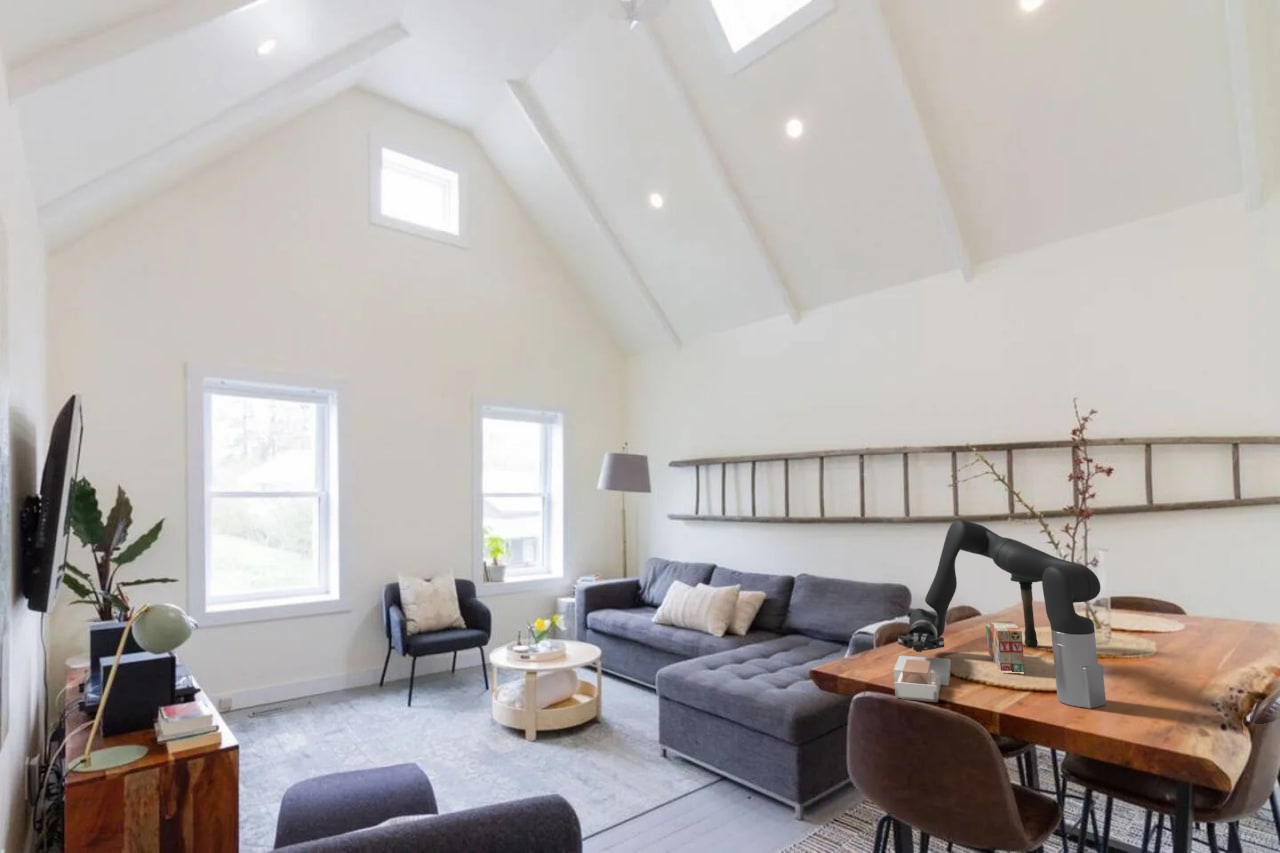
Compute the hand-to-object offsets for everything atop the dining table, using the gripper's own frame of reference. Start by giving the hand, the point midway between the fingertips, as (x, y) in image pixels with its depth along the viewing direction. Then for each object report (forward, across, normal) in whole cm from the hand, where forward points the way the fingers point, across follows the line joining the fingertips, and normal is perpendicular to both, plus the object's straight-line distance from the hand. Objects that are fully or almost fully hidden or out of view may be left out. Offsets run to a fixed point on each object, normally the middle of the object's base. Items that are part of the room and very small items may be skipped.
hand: (918, 648), depth 186 cm
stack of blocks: (-28, +22, +10) cm, 36 cm away
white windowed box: (-8, 0, +10) cm, 13 cm away
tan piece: (+1, 0, +6) cm, 6 cm away
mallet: (-52, +30, +10) cm, 60 cm away
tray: (+7, 0, +10) cm, 12 cm away
